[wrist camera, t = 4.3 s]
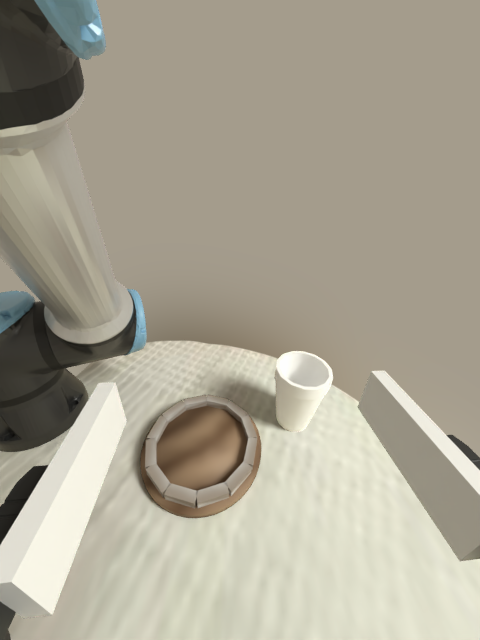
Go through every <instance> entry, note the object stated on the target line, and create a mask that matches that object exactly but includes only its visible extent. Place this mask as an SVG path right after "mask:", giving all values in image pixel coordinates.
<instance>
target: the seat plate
mask: <svg viewBox="0 0 480 640" xmlns="http://www.w3.org/2000/svg"><path fill="white" fill-rule="evenodd" d="M260 458H261V441H260V436H259V433H258V429H257V427H256V425H255V423H254V422H253V420H252V418H251V417H250V416H249V415H248V413H247V412H245V411H244V410H243V409H242V408H241V407H239V406H238V405H237V404H235V403H234V402H233V401H232V400H230V401H229V399H226V398H221V397H217V396H212V395H208V396H207V397H206V395H202V396H197V397H192V398H187V399H184V402H183V401H182V400H181V401H180V402H178V403H177V404H175V405H174V406H172V407H171V408H169V409H168V410H167V411H165V412H164V413H162V416H159V418H158V420H157V421H156V422H155V423H154V425H153V426H152V428H151V429H150V431H149V432H148V434H147V436H146V438H145V441H144V444H143V447H142V451H141V459H140V465H141V473H142V478H143V481H144V484H145V486H146V489H147V491H148V492H149V494H150V496H151V497H152V498H153V500H154V501H155V502H156V503H157V504H158V505H159V506H160V507H162V508H163V509H165V510H166V511H168V512H170V513H172V514H175V515H177V516H181V517H186V518H202V517H208V516H212V515H215V514H218V513H220V512H222V511H224V510H226V509H228V508H229V507H231V506H232V505H234V504H235V503H236V502H237V501H238V500H240V499H241V498H242V496H243V495H244V494H245V493H246V492H247V491H248V489H249V488H250V486H251V485H252V483H253V481H254V479H255V477H256V474H257V471H258V468H259V464H260Z"/></svg>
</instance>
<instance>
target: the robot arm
mask: <svg viewBox="0 0 480 640" xmlns="http://www.w3.org/2000/svg"><path fill="white" fill-rule="evenodd" d="M105 47H106V42H105V35H104V32H103V28H102V23H101V19H100V14H99V10H98V6H97V2H96V0H0V257H1V258H2V260H3V261H4V262H5V263H6V264H7V265H8V266H9V267H10V268H11V269H12V270H13V271H14V272H15V274H16V275H17V276H18V277H19V278H20V279H21V280H22V281H23V282H24V283H25V284H26V285H27V286H28V288H29V289H30V290H31V291H32V292H33V293H34V294H35V295H36V296H37V297H38V298H39V299H40V300H41V302H35V300H34V297H32V296H31V295H30V294H29V293H27V292H23V291H21V292H19V291H9V292H2V293H0V450H1V451H8V452H15V451H22V450H27V449H31V448H34V447H37V446H40V445H42V444H44V443H46V442H48V441H50V440H52V439H54V438H56V437H57V436H59V435H61V434H62V433H63V432H65V431H66V430H67V429H69V428H70V427H71V426H72V425H73V426H72V428H71V429H70V431H69V433H68V434H67V436H66V438H65V439H64V441H63V443H62V444H61V446H60V447H59V449H58V451H57V452H56V454H55V456H54V457H53V459H52V461H51V462H50V464H49V465H46V466H34V467H33V468H32V469H31V470H29V471H28V472H27V473H26V474H25V475H24V476H23V477H22V478H21V479H20V480H19V481H18V482H17V483H16V485H15V486H14V488H13V489H12V491H11V492H10V494H9V495H8V496H7V498H6V499H5V503H4V504H2V505H1V507H0V640H11V639H10V634H9V631H8V628H9V626H10V624H11V622H12V620H13V617H14V615H15V613H16V614H17V615H19V616H20V617H22V618H23V619H26V618H34V617H41V616H49V615H53V612H54V609H55V607H56V604H57V602H58V599H59V596H60V594H61V591H62V589H63V586H64V583H65V581H66V578H67V575H68V573H69V570H70V568H71V565H72V562H73V560H74V557H75V555H76V552H77V549H78V547H79V544H80V542H81V539H82V536H83V534H84V531H85V529H86V526H87V523H88V521H89V518H90V516H91V513H92V510H93V508H94V505H95V502H96V500H97V497H98V495H99V492H100V489H101V487H102V484H103V482H104V479H105V476H106V474H107V471H108V469H109V466H110V463H111V461H112V458H113V456H114V453H115V450H116V448H117V445H118V442H119V440H120V437H121V435H122V432H123V429H124V427H125V424H126V422H127V420H126V417H125V413H124V410H123V406H122V403H121V400H120V396H119V393H118V390H117V386H116V383H115V382H111V383H98V385H97V387H96V388H95V390H94V391H93V393H92V395H91V396H90V398H89V400H88V393H87V391H86V388H85V386H84V384H83V383H82V382H81V381H80V380H79V379H78V378H76V377H75V376H74V375H72V373H70V372H69V371H68V370H67V369H66V368H68V367H72V366H77V365H81V364H85V363H90V362H94V361H98V360H103V359H107V358H112V357H116V356H120V355H129V354H130V353H132V352H136V351H139V350H141V349H142V348H143V347H144V346H145V344H146V329H145V327H146V323H145V315H144V309H143V305H142V301H141V298H140V295H139V294H138V292H137V291H135V290H133V289H130V290H129V289H126V288H125V287H124V286H123V285H122V284H121V283H119V282H117V281H116V280H115V277H114V274H113V270H112V267H111V264H110V261H109V257H108V254H107V251H106V247H105V244H104V241H103V238H102V234H101V231H100V228H99V225H98V221H97V218H96V215H95V211H94V208H93V205H92V202H91V199H90V195H89V192H88V188H87V186H86V182H85V179H84V176H83V172H82V169H81V166H80V163H79V159H78V156H77V152H76V149H75V146H74V143H73V139H72V136H71V133H70V130H69V126H68V123H67V121H68V119H69V118H70V117H71V116H72V115H73V114H74V113H75V112H76V111H77V110H78V109H79V107H80V106H81V104H82V103H83V100H84V97H85V84H84V79H83V75H82V70H81V66H80V62H79V58H82V59H86V60H88V59H91V57H92V56H95V55H100V54H102V53H103V52H104V51H105ZM358 409H359V410H360V412H361V413H362V415H363V416H364V418H365V419H366V421H367V422H368V424H369V425H370V427H371V428H372V430H373V431H374V433H375V434H376V436H377V437H378V439H379V440H380V442H381V443H382V445H383V446H384V448H385V449H386V451H387V452H388V454H389V455H390V457H391V458H392V460H393V461H394V463H395V464H396V466H397V467H398V469H399V470H400V472H401V473H402V475H403V476H404V478H405V479H406V481H407V482H408V484H409V485H410V487H411V488H412V490H413V491H414V493H415V494H416V496H417V497H418V499H419V501H420V502H421V504H422V505H423V507H424V508H425V510H426V511H427V513H428V514H429V516H430V517H431V519H432V520H433V522H434V523H435V525H436V526H437V528H438V529H439V531H440V532H441V534H442V535H443V537H444V538H445V540H446V541H447V543H448V544H449V546H450V547H451V549H452V550H453V552H454V553H455V555H456V556H457V558H458V559H459V561H465V560H473V559H480V458H479V457H478V456H477V455H476V454H475V453H474V452H473V451H472V450H471V449H470V448H469V447H468V446H467V445H465V444H464V443H463V442H462V441H460V440H459V439H457V438H456V437H454V436H453V435H445V433H444V432H443V431H441V429H440V428H439V427H438V426H437V425H436V424H435V423H434V422H433V421H432V420H431V419H430V418H429V417H428V416H427V415H426V414H425V413H424V411H423V410H422V409H421V408H420V407H419V406H418V405H417V404H416V403H415V402H414V401H413V400H412V399H411V398H410V397H409V396H408V395H407V394H406V393H405V391H404V390H403V389H402V388H401V387H400V386H398V384H397V383H396V382H395V381H394V380H393V379H392V378H391V377H390V376H389V375H388V374H387V373H386V372H385V371H371V373H370V376H369V379H368V381H367V384H366V387H365V389H364V392H363V395H362V397H361V400H360V402H359V405H358Z"/></svg>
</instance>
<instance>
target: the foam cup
mask: <svg viewBox="0 0 480 640" xmlns="http://www.w3.org/2000/svg"><path fill="white" fill-rule="evenodd" d="M275 380H276V418H277V421H278V423H279V424H280V425H281V426H282V427H283V428H284V429H286V430H288V431H290V432H300V431H302V430H304V429H305V428H306V427H307V425H308V423H309V422H310V420H311V418H312V416H313V415H314V413H315V411H316V409H317V407H318V406H319V404H320V402H321V400H322V398H323V397H324V396H325V395H326V393H327V392H328V390H329V388H330V386H331V383H332V380H333V374H332V369H331V368H330V367H329V365H328V364H327V363H326V362H325V361H324V360H322V359H321V358H319V357H317V356H316V355H313V354H310V353H307V352H304V351H301V352H300V351H291V352H288V353H285V354H283V355H282V356H281V357H280V358H279V359H278V360H277V364H276V370H275Z"/></svg>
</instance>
